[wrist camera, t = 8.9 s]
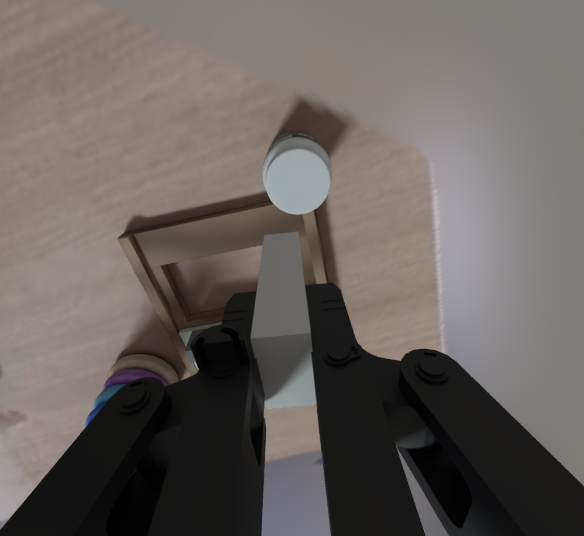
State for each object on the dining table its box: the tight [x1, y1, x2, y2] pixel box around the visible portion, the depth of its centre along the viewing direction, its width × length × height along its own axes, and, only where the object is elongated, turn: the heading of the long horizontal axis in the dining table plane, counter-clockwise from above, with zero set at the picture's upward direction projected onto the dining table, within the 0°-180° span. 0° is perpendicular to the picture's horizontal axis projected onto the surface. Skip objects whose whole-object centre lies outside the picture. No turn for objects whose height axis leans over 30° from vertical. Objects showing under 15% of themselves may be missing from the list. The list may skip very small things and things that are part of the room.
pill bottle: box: [263, 131, 332, 215], centre depth 22 cm, size 5×5×8 cm
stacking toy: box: [80, 354, 178, 434], centre depth 29 cm, size 8×8×19 cm
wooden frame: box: [117, 201, 328, 376], centre depth 32 cm, size 22×18×2 cm
